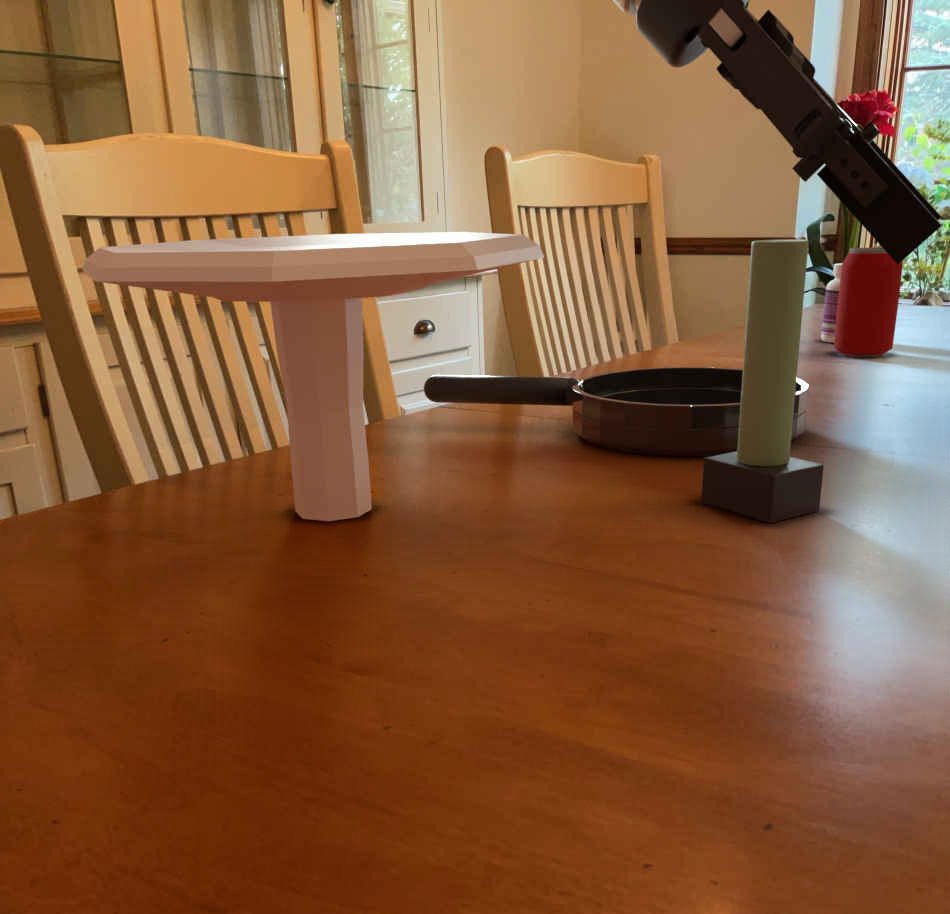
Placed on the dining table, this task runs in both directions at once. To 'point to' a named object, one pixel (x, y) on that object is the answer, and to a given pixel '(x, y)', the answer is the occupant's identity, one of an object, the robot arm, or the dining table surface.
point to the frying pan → (667, 410)
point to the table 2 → (315, 324)
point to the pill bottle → (831, 306)
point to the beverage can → (867, 303)
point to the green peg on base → (768, 397)
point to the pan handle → (500, 389)
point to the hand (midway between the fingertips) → (922, 239)
